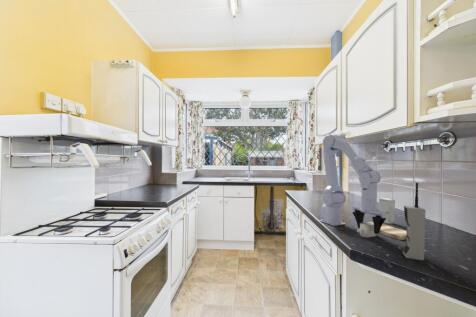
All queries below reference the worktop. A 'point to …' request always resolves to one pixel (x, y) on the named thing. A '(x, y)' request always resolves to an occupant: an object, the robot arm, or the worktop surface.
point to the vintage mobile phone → (415, 230)
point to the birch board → (393, 232)
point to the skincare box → (387, 209)
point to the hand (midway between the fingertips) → (368, 230)
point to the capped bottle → (366, 229)
